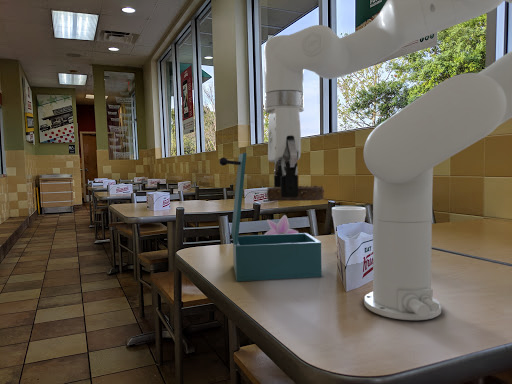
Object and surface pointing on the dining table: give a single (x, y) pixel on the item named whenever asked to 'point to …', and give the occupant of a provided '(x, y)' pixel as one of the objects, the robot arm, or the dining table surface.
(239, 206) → the lid
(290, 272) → the chest
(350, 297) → the dining table surface
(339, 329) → the dining table surface
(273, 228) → the lily
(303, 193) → the ice cream bar
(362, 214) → the foam cup
